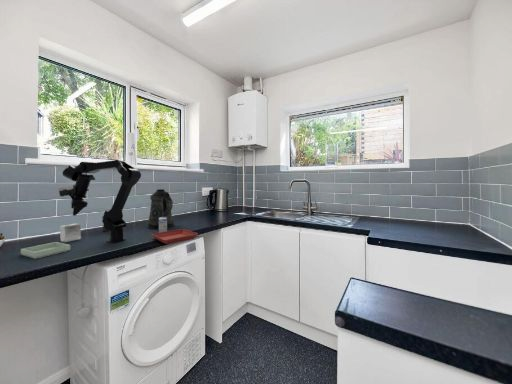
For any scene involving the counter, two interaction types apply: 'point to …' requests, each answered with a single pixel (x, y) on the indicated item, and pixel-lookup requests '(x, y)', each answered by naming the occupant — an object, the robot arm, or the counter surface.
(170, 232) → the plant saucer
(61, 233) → the aluminium block
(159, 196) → the dark olive backpack
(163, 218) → the medicine box
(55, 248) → the tray
